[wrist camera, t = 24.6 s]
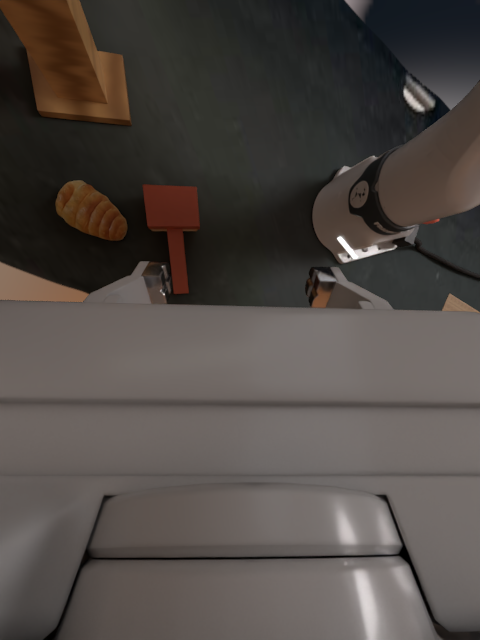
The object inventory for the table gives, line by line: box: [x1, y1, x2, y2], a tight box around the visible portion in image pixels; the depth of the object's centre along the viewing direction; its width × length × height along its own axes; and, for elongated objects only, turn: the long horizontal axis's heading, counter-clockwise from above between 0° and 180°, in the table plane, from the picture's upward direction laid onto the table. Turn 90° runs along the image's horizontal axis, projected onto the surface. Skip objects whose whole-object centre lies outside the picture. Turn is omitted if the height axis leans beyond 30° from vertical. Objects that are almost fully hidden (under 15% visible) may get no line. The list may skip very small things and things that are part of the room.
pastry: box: [55, 180, 127, 241], centre depth 34 cm, size 9×7×4 cm
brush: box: [143, 185, 200, 294], centre depth 37 cm, size 8×17×4 cm, turn 4°
